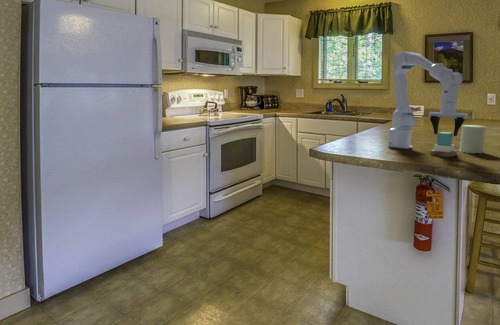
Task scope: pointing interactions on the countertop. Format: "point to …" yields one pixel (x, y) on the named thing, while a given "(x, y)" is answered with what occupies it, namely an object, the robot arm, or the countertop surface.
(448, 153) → the walnut slab
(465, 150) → the can
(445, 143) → the teal block
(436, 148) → the white block
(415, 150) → the countertop surface
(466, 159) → the countertop surface
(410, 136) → the robot arm
